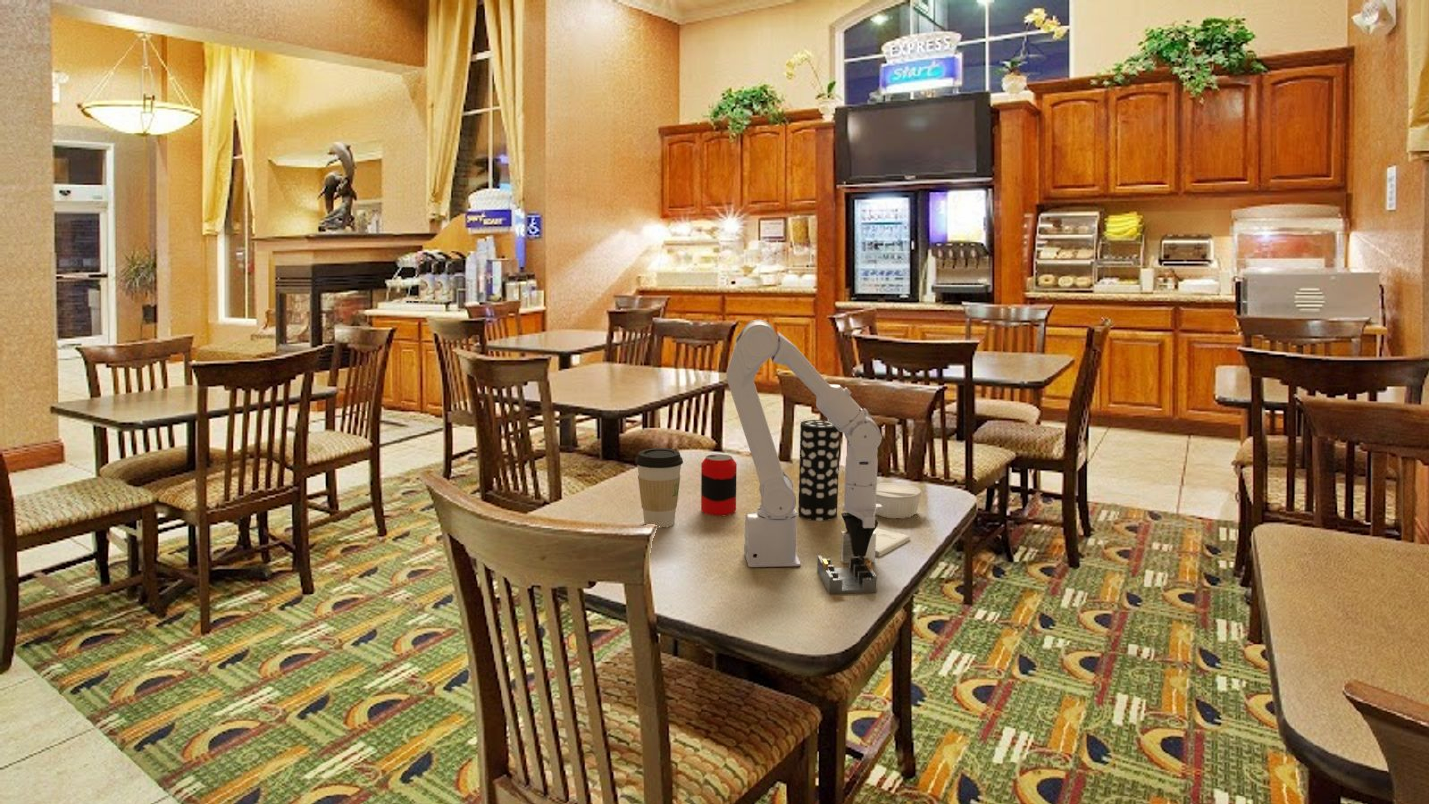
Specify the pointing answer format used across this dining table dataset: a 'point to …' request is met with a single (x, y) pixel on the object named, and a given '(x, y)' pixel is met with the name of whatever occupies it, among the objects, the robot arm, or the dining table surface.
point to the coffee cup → (659, 484)
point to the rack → (847, 576)
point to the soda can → (718, 485)
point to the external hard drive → (888, 541)
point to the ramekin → (897, 500)
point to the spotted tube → (818, 470)
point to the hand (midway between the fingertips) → (858, 553)
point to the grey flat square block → (848, 552)
